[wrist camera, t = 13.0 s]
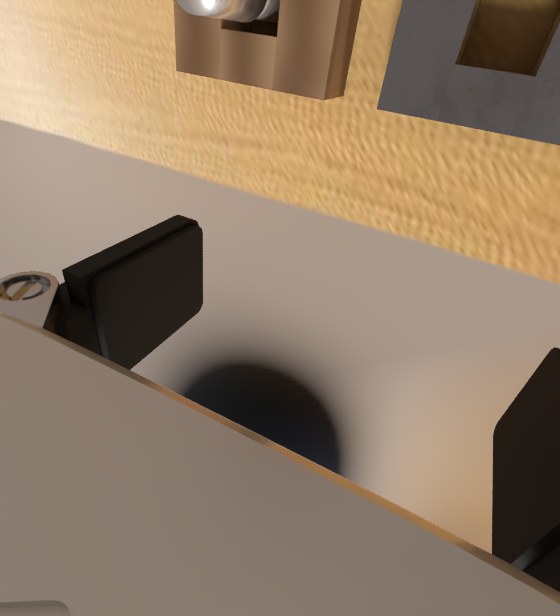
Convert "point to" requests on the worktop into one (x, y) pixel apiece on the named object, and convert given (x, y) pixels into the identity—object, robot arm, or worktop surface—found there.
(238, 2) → the stepped metal peg
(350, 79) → the worktop surface
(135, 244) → the robot arm
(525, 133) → the socket block
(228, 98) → the worktop surface
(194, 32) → the block
